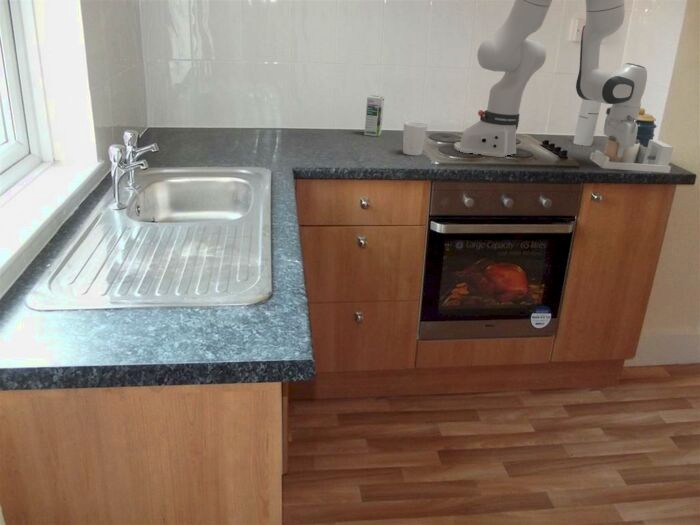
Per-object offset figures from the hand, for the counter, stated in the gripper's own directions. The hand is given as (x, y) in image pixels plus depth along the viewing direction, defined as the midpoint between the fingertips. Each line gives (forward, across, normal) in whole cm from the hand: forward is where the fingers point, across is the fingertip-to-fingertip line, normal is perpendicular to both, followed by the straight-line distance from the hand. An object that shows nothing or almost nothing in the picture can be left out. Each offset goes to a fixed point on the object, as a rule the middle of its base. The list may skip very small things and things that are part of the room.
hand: (614, 153), depth 222 cm
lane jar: (+4, +2, -5) cm, 7 cm away
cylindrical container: (+5, +36, -1) cm, 36 cm away
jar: (+3, 0, 0) cm, 3 cm away
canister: (+5, +22, -15) cm, 27 cm away
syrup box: (+5, +24, +84) cm, 87 cm away
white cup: (+5, -3, +70) cm, 71 cm away
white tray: (+4, 0, -6) cm, 8 cm away
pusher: (+3, 0, -13) cm, 14 cm away
